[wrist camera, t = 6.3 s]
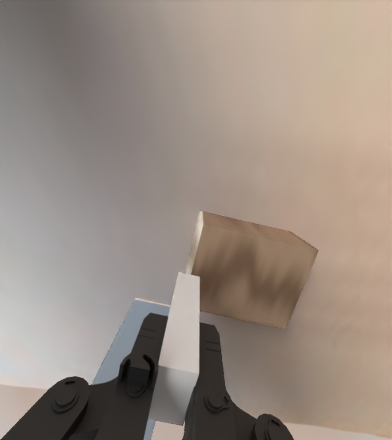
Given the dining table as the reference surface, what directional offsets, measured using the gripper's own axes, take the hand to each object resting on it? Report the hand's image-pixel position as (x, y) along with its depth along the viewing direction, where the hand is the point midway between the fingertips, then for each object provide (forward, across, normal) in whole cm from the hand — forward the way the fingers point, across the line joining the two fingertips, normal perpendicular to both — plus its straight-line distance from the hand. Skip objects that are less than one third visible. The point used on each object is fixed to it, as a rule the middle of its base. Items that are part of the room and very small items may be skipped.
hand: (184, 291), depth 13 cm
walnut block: (+6, 0, 0) cm, 6 cm away
